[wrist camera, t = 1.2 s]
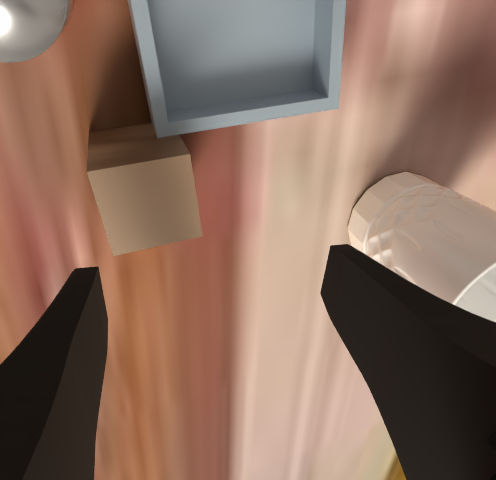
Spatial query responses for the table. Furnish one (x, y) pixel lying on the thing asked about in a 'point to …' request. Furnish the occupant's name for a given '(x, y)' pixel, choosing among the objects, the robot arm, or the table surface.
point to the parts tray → (237, 60)
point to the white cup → (430, 239)
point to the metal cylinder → (30, 27)
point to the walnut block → (142, 187)
